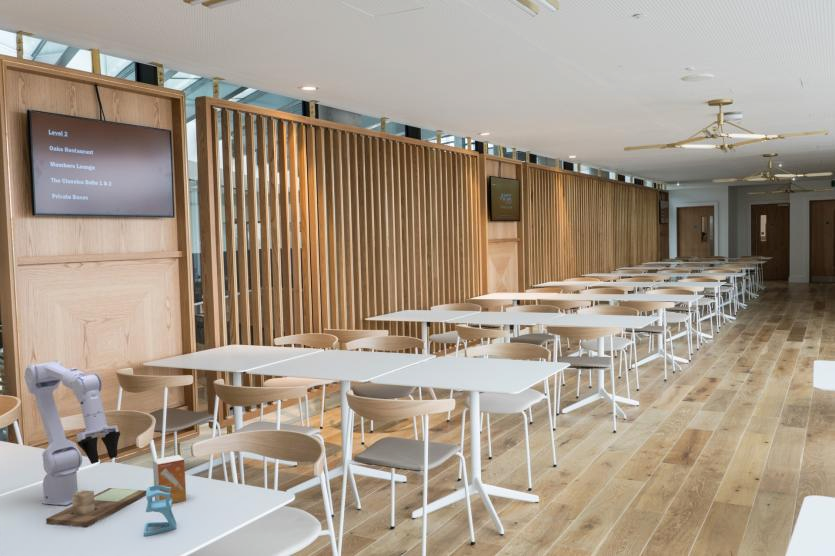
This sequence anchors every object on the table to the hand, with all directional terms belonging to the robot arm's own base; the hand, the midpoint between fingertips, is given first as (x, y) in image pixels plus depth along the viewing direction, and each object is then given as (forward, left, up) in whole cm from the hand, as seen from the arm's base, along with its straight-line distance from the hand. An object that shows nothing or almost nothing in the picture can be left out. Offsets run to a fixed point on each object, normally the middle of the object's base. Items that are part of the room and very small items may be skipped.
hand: (104, 460), depth 209 cm
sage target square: (-7, +11, -15) cm, 20 cm away
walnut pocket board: (-7, +4, -16) cm, 18 cm away
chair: (+22, -6, -17) cm, 28 cm away
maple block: (-7, -2, -16) cm, 18 cm away
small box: (+11, +14, -17) cm, 25 cm away
